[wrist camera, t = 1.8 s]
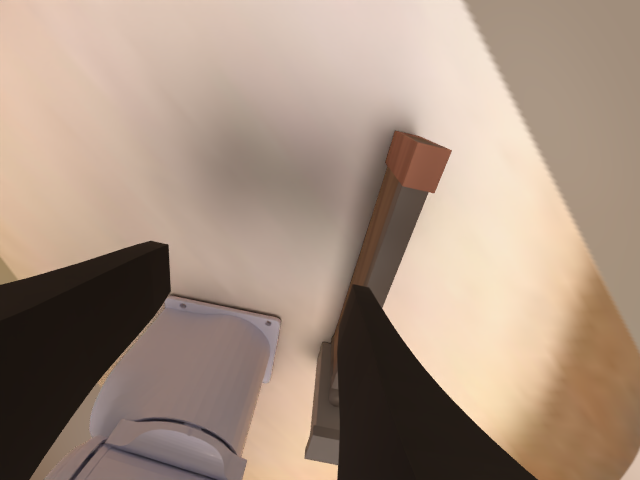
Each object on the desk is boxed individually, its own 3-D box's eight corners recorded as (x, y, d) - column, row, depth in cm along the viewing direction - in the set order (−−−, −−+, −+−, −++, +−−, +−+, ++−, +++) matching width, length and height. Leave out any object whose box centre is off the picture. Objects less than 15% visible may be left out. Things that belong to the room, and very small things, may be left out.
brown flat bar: (328, 343, 23) (325, 404, 19) (394, 130, 16) (417, 142, 11) (345, 346, 23) (345, 408, 19) (418, 135, 16) (451, 150, 11)
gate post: (314, 361, 25) (304, 458, 18) (320, 339, 24) (312, 435, 17) (344, 367, 25) (345, 466, 18) (352, 346, 24) (357, 443, 17)
